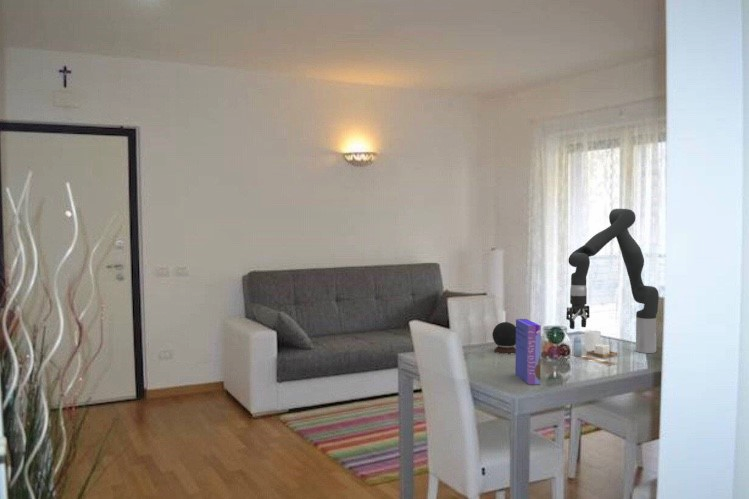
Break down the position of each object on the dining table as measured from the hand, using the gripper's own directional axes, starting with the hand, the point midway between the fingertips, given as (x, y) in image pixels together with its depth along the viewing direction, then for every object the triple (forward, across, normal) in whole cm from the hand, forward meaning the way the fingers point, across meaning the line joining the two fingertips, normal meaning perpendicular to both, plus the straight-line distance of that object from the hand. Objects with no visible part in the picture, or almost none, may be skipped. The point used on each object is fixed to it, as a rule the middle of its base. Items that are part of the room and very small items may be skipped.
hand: (577, 327), depth 300 cm
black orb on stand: (+15, +18, -30) cm, 38 cm away
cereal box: (+15, +52, +15) cm, 56 cm away
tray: (+14, -12, +5) cm, 19 cm away
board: (+14, 0, +8) cm, 17 cm away
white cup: (+14, -19, -6) cm, 25 cm away
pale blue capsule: (+14, 0, 0) cm, 14 cm away
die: (+14, -12, +5) cm, 19 cm away
